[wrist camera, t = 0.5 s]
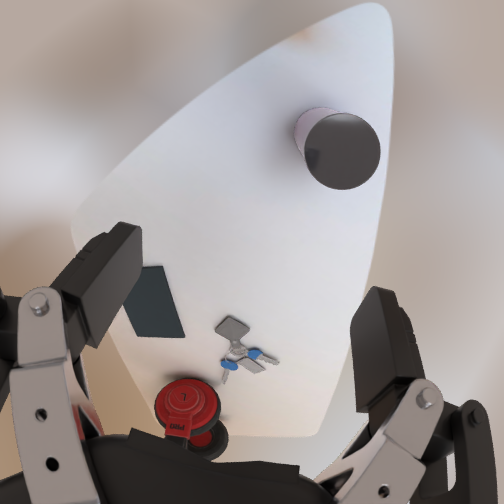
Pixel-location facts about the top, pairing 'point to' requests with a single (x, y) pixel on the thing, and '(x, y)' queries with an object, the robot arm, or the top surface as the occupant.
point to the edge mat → (153, 306)
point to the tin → (337, 147)
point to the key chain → (234, 334)
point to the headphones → (192, 417)
